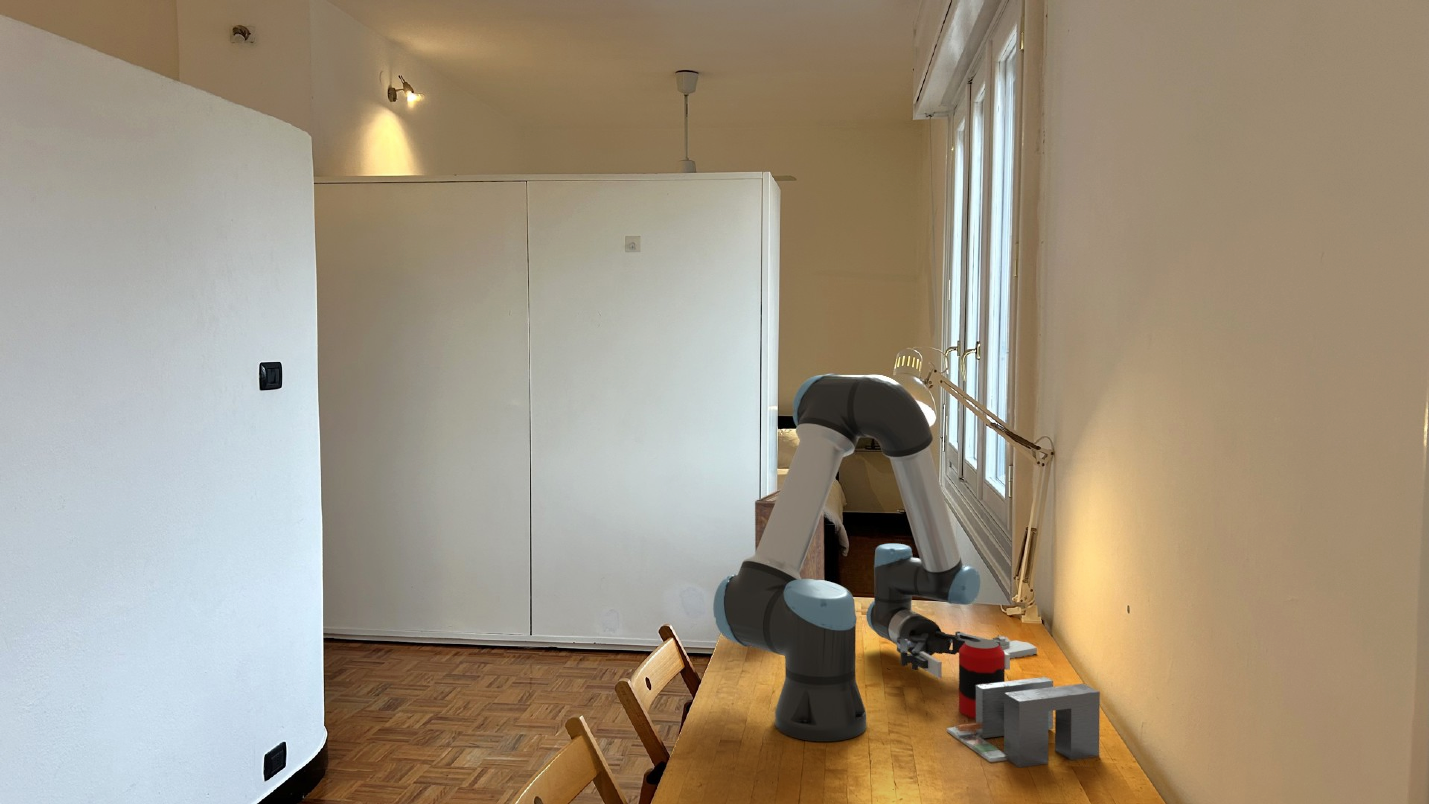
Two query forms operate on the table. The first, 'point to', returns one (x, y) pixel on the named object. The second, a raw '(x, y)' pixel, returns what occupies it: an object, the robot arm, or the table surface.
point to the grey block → (1000, 705)
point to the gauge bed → (1043, 726)
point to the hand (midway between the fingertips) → (974, 666)
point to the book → (815, 553)
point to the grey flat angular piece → (1016, 647)
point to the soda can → (978, 670)
